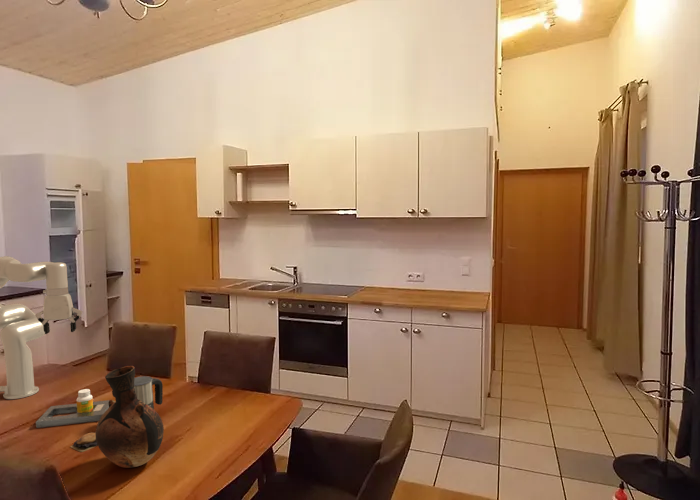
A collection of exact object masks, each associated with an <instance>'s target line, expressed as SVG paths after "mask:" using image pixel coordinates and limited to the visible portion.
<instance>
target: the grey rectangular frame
mask: <svg viewBox="0 0 700 500" xmlns="http://www.w3.org/2000/svg"><path fill="white" fill-rule="evenodd" d="M109 400H110V399H107V400H99V401H98V400H97V401H93V411H92V412H86V413H77V403H69V404H61V405H60V404H59V405H58V404H57V405H50V407H48V408H47V409H46V410H45V412H44V413H43V414H42V415H41V416H40V417H39V418H38V419H37V420H36V421H35V426H36V429H40V428H49V427H58V426H66V425H75V424H84V423H86V424H87V423H94V422H99V420H100V418H101V416H102V415H103V414H104V412H105V411H106V410H107V409H108V408H109ZM65 414H66V415H65ZM54 415H55V416H54ZM56 415H57V416H56Z"/></svg>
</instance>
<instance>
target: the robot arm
mask: <svg viewBox="0 0 700 500" xmlns="http://www.w3.org/2000/svg"><path fill="white" fill-rule="evenodd" d="M44 280H45V283H46V288H45V289H43V291H42V294H46V295H45V296H44V300H43V308H42V309H43V310H41V311H39V312H37V313H35V312H34V311H33V310H31V309H30V307H28V306H27V305H26V304H25V305H24V304H23V303H12V304H7V305H6V304H2V303H0V341H1V344H2V348H3V351H4V352H3V353H4V362H5V364H4V365H5V375H6V384H5V385H0V393H3V392H4V393H3V395H2V396H3V398H4V399H6V400H17V399H22V398H27V397H31V396H33V395H35V394H36V393H38V392H39V390H40V388H39V386H36V385H35V377H34V376H35V375H34V365H33V364H34V363H33V352H32V349H31V348H30V347H29V346H28V344H27V342H31V341H35V340H37V339H40V338H43V336H45V335H47V334H49V333H50V330H51V329H50V323H49V321H59V320H61V321H62V320H69V321H70V324H69V325H70V332H71V333H74V332H75V331H76V330H77V321H78V320H79V319H80V318H81V316H82V315H83V311H82V310H81V309H78V308H75V307H74V305H73V300H72V296H71V294H70V293H69V286H68V285H69V282H68V268H67V264H66V262H60V261H59V262H52V261H41V262H39V261H38V262H30V263H29V262H28V263H22V262H21V261H20V260H18V259H15V257H12V256H9V255H8V256H6V255H5V256H0V290H1V289H2V288H4V286H5V285H6V284H7V283H8V282H9V281H10V282H16V283H17V282H18V283H32V282H37V281H44ZM74 313H75V314H76V316H74ZM42 315H43V317H42Z"/></svg>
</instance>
